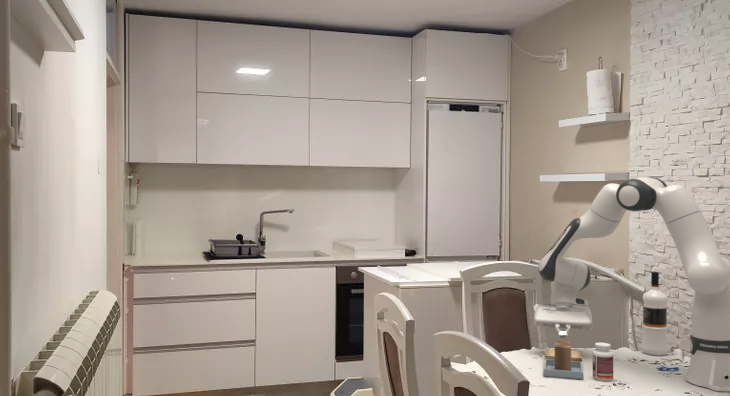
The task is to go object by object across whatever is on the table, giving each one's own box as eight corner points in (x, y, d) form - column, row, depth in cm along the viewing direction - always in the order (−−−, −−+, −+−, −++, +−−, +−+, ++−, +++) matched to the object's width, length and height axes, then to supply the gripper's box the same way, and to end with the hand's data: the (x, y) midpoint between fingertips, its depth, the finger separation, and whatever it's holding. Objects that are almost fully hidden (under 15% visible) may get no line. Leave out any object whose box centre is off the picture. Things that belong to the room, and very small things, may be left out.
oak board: (581, 361, 221) (581, 351, 221) (582, 368, 211) (582, 358, 211) (545, 358, 225) (545, 348, 225) (544, 365, 215) (544, 355, 215)
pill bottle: (617, 379, 199) (617, 344, 199) (605, 382, 196) (605, 347, 196) (600, 375, 204) (600, 341, 204) (588, 378, 201) (588, 343, 201)
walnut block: (570, 341, 210) (571, 348, 201) (570, 368, 210) (570, 376, 201) (555, 340, 211) (554, 346, 202) (554, 367, 211) (554, 374, 203)
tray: (582, 369, 211) (582, 361, 211) (583, 380, 198) (583, 372, 198) (544, 366, 214) (544, 358, 214) (543, 376, 202) (543, 369, 202)
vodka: (666, 357, 226) (666, 274, 225) (638, 354, 231) (638, 272, 231) (670, 352, 233) (670, 271, 233) (643, 348, 239) (644, 269, 238)
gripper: (533, 297, 233) (532, 329, 224) (592, 301, 227) (593, 334, 217) (534, 307, 237) (532, 339, 228) (591, 311, 231) (592, 344, 222)
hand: (562, 336), depth 223 cm, fingers closed
